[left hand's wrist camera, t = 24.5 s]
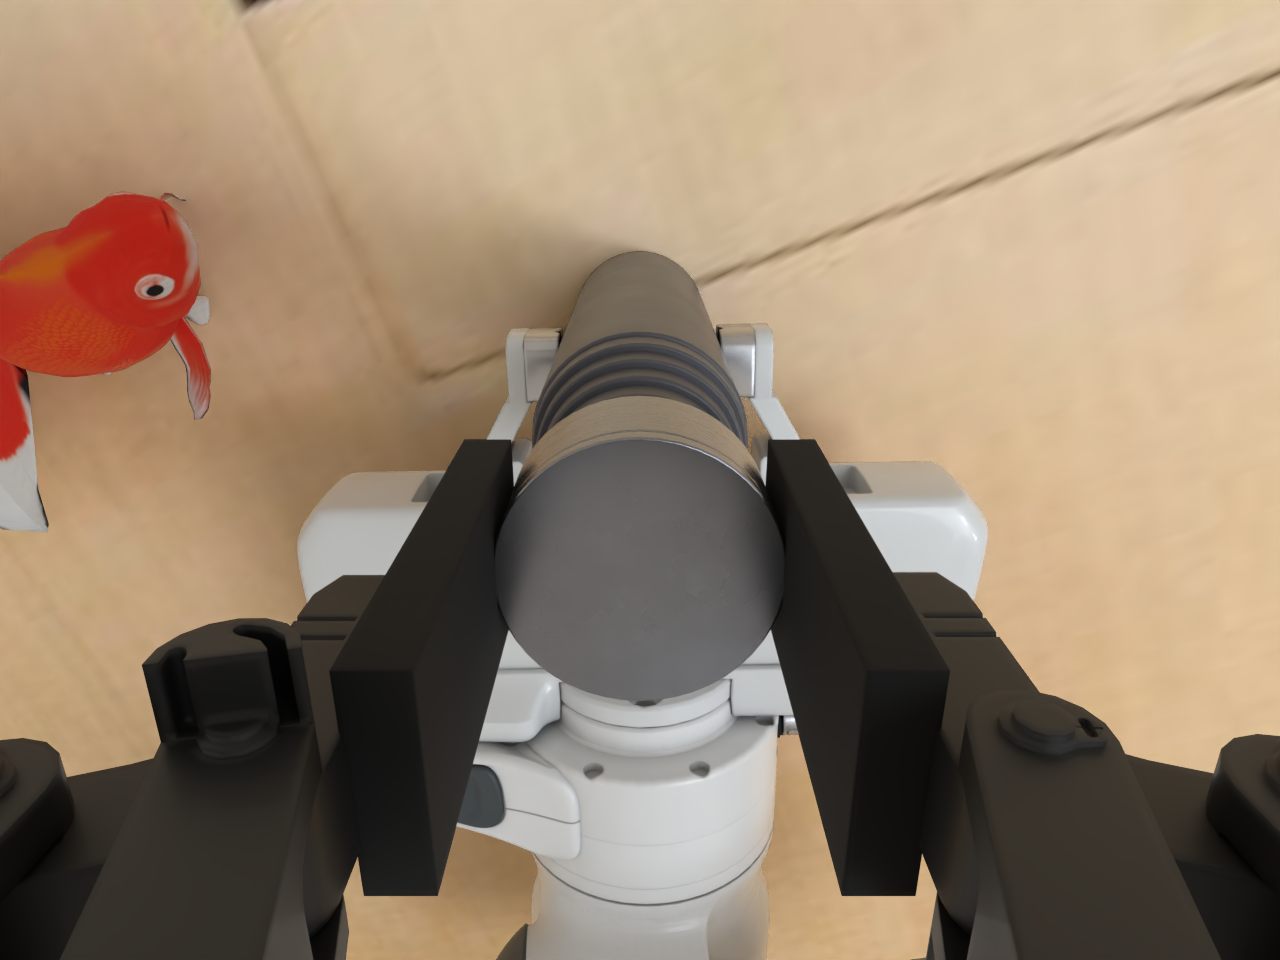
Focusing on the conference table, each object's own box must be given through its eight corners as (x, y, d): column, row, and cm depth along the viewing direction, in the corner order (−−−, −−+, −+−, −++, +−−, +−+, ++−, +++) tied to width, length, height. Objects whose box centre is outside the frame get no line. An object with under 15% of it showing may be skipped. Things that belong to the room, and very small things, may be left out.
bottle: (550, 308, 31) (427, 539, 13) (647, 223, 30) (658, 346, 12) (632, 402, 32) (623, 728, 14) (728, 323, 31) (849, 570, 13)
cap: (504, 395, 14) (481, 437, 12) (774, 394, 14) (797, 437, 12) (518, 628, 15) (500, 701, 13) (760, 628, 15) (778, 702, 13)
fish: (348, 495, 28) (2, 547, 19) (83, 523, 36) (-250, 569, 27) (302, 162, 28) (-75, 61, 19) (43, 263, 35) (-310, 224, 26)
